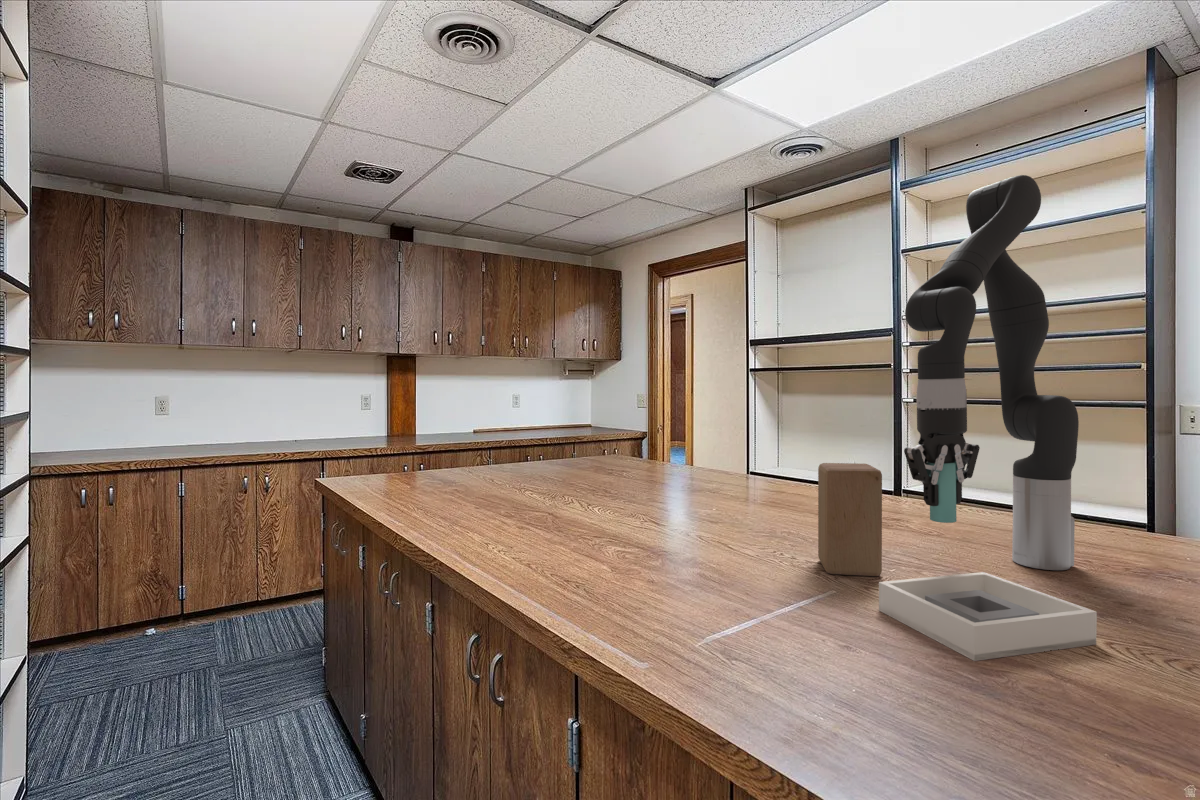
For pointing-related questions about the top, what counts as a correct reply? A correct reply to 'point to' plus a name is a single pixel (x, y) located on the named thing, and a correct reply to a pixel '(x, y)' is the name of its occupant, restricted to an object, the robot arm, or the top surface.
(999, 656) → the bin
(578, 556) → the top surface
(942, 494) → the peg
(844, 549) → the wooden block
